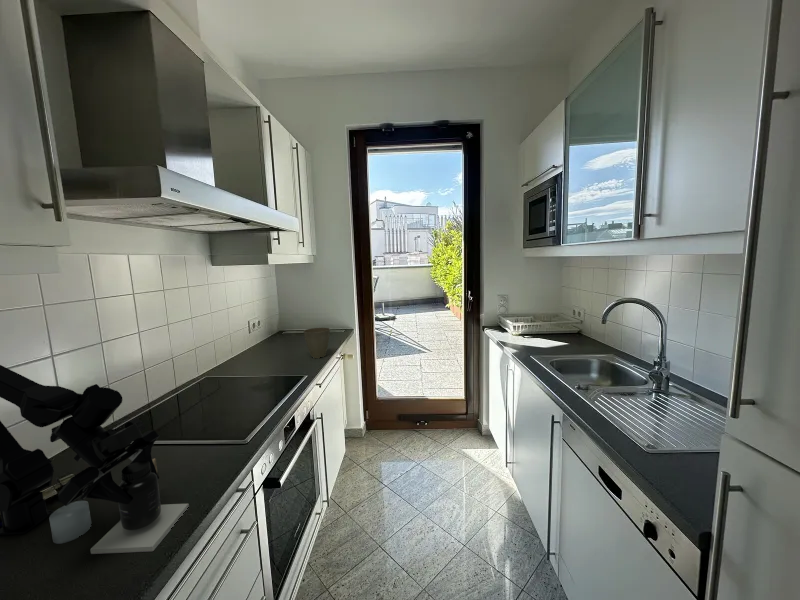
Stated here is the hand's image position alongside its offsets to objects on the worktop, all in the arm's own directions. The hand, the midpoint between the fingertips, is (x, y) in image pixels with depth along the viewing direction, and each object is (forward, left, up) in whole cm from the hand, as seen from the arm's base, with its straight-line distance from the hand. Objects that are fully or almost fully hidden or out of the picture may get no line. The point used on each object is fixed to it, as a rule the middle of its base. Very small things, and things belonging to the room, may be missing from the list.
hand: (144, 490), depth 73 cm
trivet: (-1, 0, -9) cm, 9 cm away
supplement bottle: (-1, 0, -7) cm, 7 cm away
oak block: (-13, +17, -9) cm, 23 cm away
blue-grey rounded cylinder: (-16, 0, -9) cm, 18 cm away
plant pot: (+8, +129, -9) cm, 129 cm away
